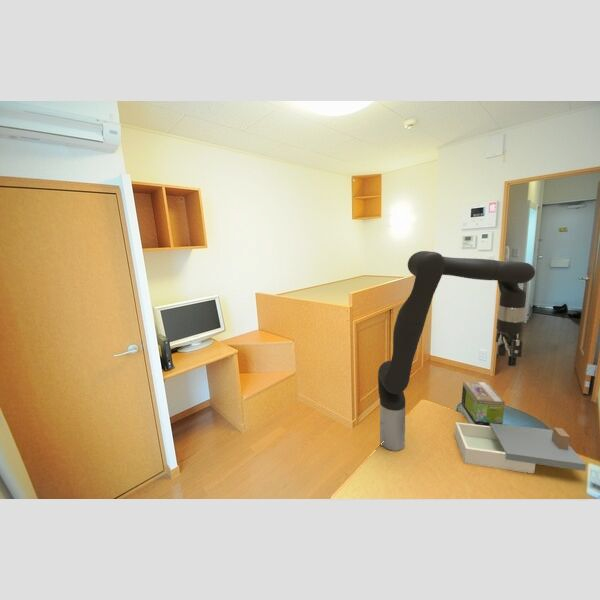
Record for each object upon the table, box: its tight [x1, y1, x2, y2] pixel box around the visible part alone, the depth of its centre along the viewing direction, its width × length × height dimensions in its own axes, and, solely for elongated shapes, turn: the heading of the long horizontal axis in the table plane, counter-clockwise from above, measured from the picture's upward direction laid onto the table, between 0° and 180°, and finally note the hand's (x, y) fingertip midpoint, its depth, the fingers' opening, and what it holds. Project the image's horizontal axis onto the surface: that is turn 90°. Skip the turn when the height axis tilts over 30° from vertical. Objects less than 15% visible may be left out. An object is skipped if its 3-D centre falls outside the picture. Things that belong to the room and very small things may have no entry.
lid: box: [489, 423, 587, 472], centre depth 92 cm, size 21×15×7 cm
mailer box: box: [454, 421, 536, 474], centre depth 96 cm, size 20×14×6 cm
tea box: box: [460, 380, 506, 426], centre depth 111 cm, size 15×10×15 cm, turn 168°
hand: (506, 360), depth 98 cm, fingers open, 8 cm apart
